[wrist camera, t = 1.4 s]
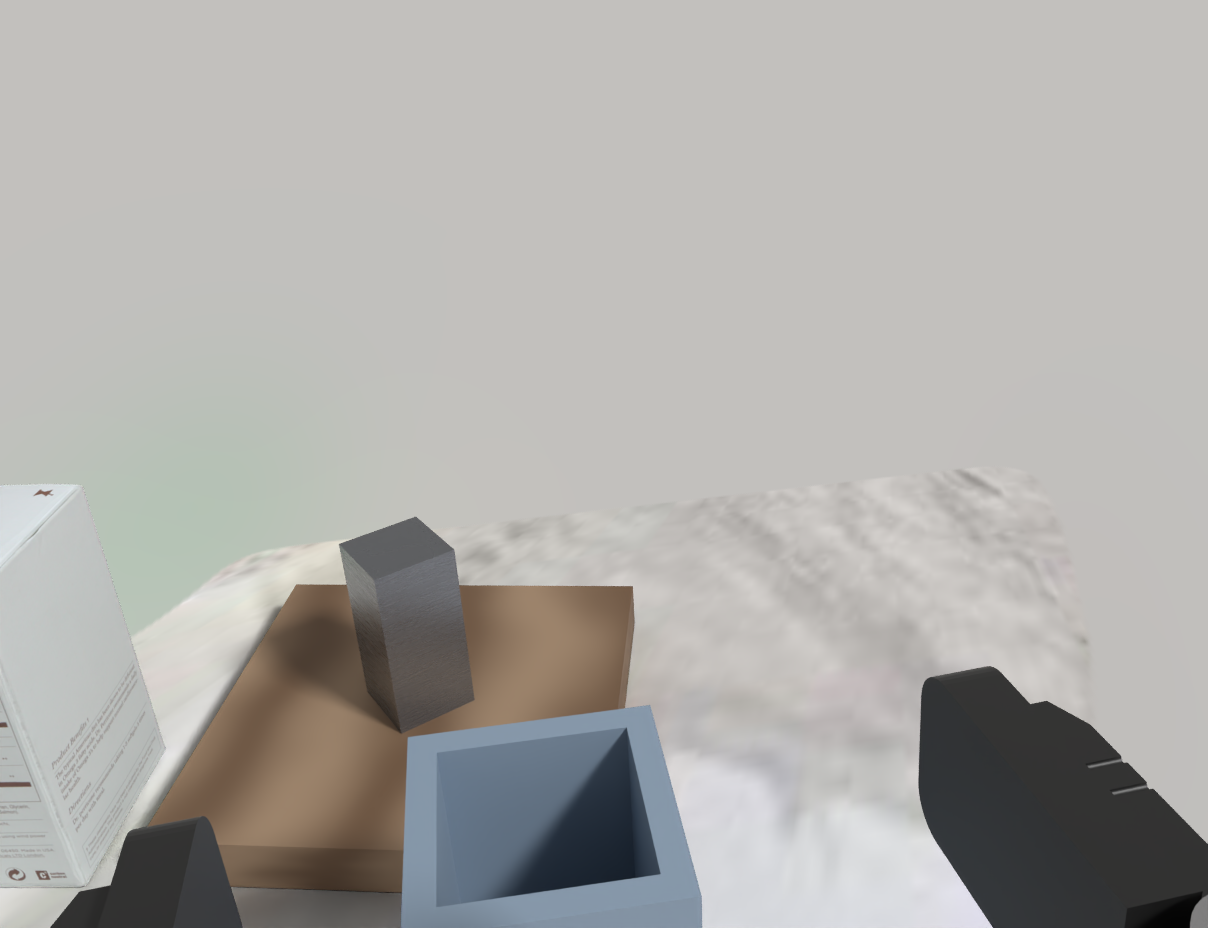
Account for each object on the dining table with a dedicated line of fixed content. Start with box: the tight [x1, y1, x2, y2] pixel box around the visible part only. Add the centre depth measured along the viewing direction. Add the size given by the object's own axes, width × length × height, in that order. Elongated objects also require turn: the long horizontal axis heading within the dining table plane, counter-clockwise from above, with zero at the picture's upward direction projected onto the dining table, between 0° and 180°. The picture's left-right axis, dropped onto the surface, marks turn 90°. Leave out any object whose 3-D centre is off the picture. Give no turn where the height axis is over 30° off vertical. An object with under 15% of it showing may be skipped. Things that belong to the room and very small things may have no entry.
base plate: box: [147, 585, 635, 893], centre depth 44 cm, size 16×16×2 cm
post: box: [339, 517, 475, 734], centre depth 42 cm, size 5×5×7 cm
